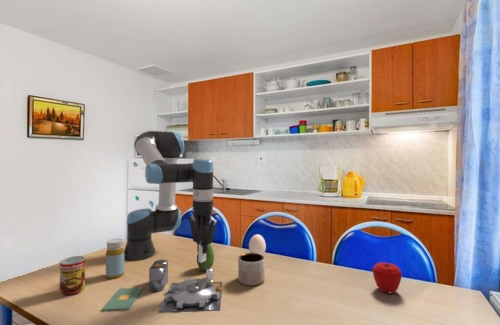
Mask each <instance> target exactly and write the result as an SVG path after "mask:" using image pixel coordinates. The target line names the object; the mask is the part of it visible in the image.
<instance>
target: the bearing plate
mask: <svg viewBox="0 0 500 325" xmlns="http://www.w3.org/2000/svg"><path fill="white" fill-rule="evenodd" d="M178 283H179V282H172V283H171V285H172V284H173V285H177V284H178ZM213 283H219V284H220V289H217V290H216V292H220V297H219V298H218V299H212V300H211V301H209V302H207V303H205V306H204V307H200V308H199V306H184V307H183V308H177V304H176V303H174V302H173V301H168V302H167V301H166V296H165V297H164V299H163V302H162V304H161V306H160V308H159V310H158V313H178V312H201V311H202V312H204V311H208V312H209V311H220V310H221V304H222V303H221V302H222V291H223V281H213ZM170 293H171V291H169V290H168V291H167V293H166V294H170Z"/></svg>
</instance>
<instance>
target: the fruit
mask: <svg viewBox="0 0 500 325" xmlns="http://www.w3.org/2000/svg"><path fill="white" fill-rule="evenodd" d="M211 244H212V243H210V244H208V246H207V253H206V261H204V262H202V263H200V262H198V253H199V252H198V251H197V254H196V263H197V266H198V267H199V269H200V270H202V271H206V269H207V268H212V267H213V265H214V262H215V254H214V253H215V252H214V250H213V246H212V245H211Z"/></svg>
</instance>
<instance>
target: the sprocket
mask: <svg viewBox="0 0 500 325" xmlns="http://www.w3.org/2000/svg"><path fill="white" fill-rule="evenodd" d="M213 272H214V269H213V268H212V267H211V268H207V269H206V270H205V275H206V276H205V277H202V278H192V279H191V278H189V277H188V278H185V279H184V280H183V281H181V282H177V283H178V284H177V285H173V284H172V283H171V284H170V285H169V287H168V291H171V293H170V294H167V293H166V294H165V297H166V301H167V302H168V301H173V302H174V303H176V304H177V308H183V307H184V306H199V308H200V307H204V306H205V303H207V302H209V301H211V300H212V299H218V298H219V297H220V292H216V290H217V289H220V284H219V283H213V282H214V278H213V276H214V274H213Z"/></svg>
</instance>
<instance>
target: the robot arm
mask: <svg viewBox="0 0 500 325" xmlns="http://www.w3.org/2000/svg"><path fill="white" fill-rule="evenodd" d="M134 150H135V152H136V154H138V155H139V156H141V158H142V160H143V162H144V164H145V169H144V170H145V171H144V177H145V181H146V183H147V184H151V185H152V184H155V185H158V204H157V205H156V206H155V209H154V210H152V209H151V208H147V207H146V208H140V209H136V210H133V211H130V212H129V213H128V214H127V216H126V218H127V219H126V225H127V226H126V231H127V232H126V236H127V238H126V244H125V247H124V260H127V261H141V260H147V259H148V258H151V257H153V256H155V254H156V249H155V248H156V247H155V246H154V243H153V240H152V235H153V234H156V233H157V234H158V233H165V232H172V231H176V230H178V229H179V228H180V226H181V223H182V211H181V209H180V208H179V207H178V205H177V204H176V193H177V192H176V187H177V184H178V183H192V199H193V201H192V210H193V213H192V214H191V215H190V216H188V218H187V219H188V221H189V224H190V229H191V230H190V231H191V236H192V241H193V242H194V243H196V245H197V246H196V247H197V248H196V249H197V251H196V252H197V254H198V262H200V263H202V262H204V261H206V253H207V246H208V244H212V243H213V239H214V235H215V234H214V233H215V230H216V226H217V224H218V221H219V220H218V219H215V218H214V216H213V207H214V204H213V203H214V201H213V199H214V161H213V160H212V159H194V160H193V162H190V163H189V162H188V163H178V160H180V159H181V158H180V157H181V155H183V154H185V153H184V152H185V142H184V138H183V136H182V134H181V133H180V132H175V131H162V130H161V131H160V130H159V131H158V130H147V131H145V132H142V133H140V134H139V135H138V136H137V137H136V138H135V141H134ZM198 252H199V253H198Z"/></svg>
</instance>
